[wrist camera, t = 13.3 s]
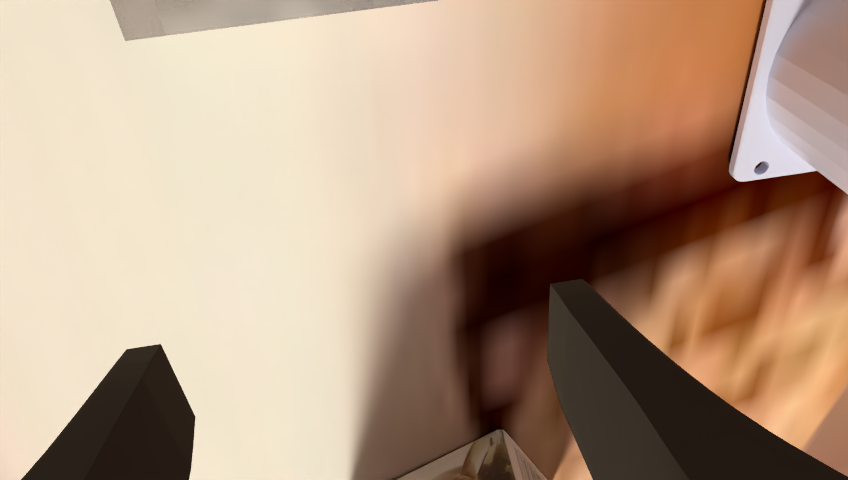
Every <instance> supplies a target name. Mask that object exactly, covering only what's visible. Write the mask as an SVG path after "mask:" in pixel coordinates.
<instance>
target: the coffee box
mask: <svg viewBox="0 0 848 480" xmlns="http://www.w3.org/2000/svg"><path fill="white" fill-rule="evenodd" d="M396 480H547V479H546V477H545V476H544V475H543V474H542V473H541V472H540V471H539V469H538V468H537V467H536V466H535V465H534V464H533V463H532V461H531V460H530V459H529V458H528V457H527V456H526V454H525V453H524V452H523V451H522V450H521V449H520V448H519V446H518V445H517V444H516V443H515V442H514V441H513V440H512V438H511V437H510V436H509V435H508V434H507V433H506V432H505V431H504V430H500V429H498V430H496V431H494V432H491V433H489V434H487V435H486V436H484V437H482V438H480V439H478V440H476V441H474V442H472V443H470V444H468V445H466V446H464V447H462V448H459V449H457V450H455V451H453V452H451V453H449V454H447V455H445V456H443V457H441V458H439V459H437V460H435V461H433V462H431V463H429V464H427V465H425V466H423V467H421V468H419V469H417V470H415V471H413V472H411V473H409V474H407V475H405V476H403V477H401V478H398V479H396Z"/></svg>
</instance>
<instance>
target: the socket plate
mask: <svg viewBox="0 0 848 480" xmlns="http://www.w3.org/2000/svg"><path fill="white" fill-rule="evenodd" d="M110 1H111V4H112V7H113V9H114V12H115V15H116V17H117V20H118V23H119V25H120V28H121V31H122V33H123V36H124V39H125V41H128V40H136V39H143V38H151V37H159V36H166V35H174V34H182V33H190V32H197V31H205V30H213V29H220V28H228V27H236V26H244V25H251V24H259V23H267V22H274V21H282V20H290V19H297V18H305V17H313V16H321V15H328V14H336V13H344V12H351V11H359V10H367V9H375V8H382V7H390V6H398V5H405V4H413V3H421V2H429V1H436V0H110Z"/></svg>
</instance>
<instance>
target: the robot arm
mask: <svg viewBox="0 0 848 480" xmlns="http://www.w3.org/2000/svg"><path fill="white" fill-rule="evenodd" d="M760 162H762V164H761V165H760V166H759V167H758V168H755V167H756V165H757V164H759V163H760ZM812 171H818V172H820V173H821V174H822V175H824V176H825V177H826V178H827V179H829V180H830V181H831V182H833V183H834V184H835V185H836V186H838V187H839V188H840V189H842V190H843V191H844V192H845V193H847V194H848V0H767V1H766V6H765V10H764V15H763V19H762V23H761V28H760V32H759V37H758V41H757V46H756V50H755V54H754V59H753V63H752V68H751V72H750V77H749V81H748V85H747V90H746V94H745V99H744V103H743V108H742V112H741V116H740V121H739V125H738V130H737V134H736V139H735V143H734V148H733V152H732V156H731V161H730V165H729V173H730V174H731V176H732V177H733V178H734V179H736V180H738V181H743V182H744V181H751V180H758V179H765V178H771V177H778V176H785V175H792V174H798V173H805V172H812ZM547 361H548V364H549V368H550V371H551V374H552V378H553V381H554V385H555V388H556V391H557V394H558V397H559V401H560V404H561V407H562V410H563V412H564V414H565V417H566V419H567V421H568V424H569V426H570V428H571V431H572V433H573V435H574V437H575V440H576V442H577V444H578V447H579V449H580V451H581V453H582V456H583V458H584V460H585V462H586V465H587V467H588V469H589V471H590V474H591V476H592V478H593V480H848V477H847V476H845V475H843V474H842V473H840V472H838V471H836V470H834V469H833V468H831V467H829V466H827V465H826V464H824V463H822V462H820V461H819V460H817V459H815V458H813V457H812V456H810V455H808V454H807V453H805V452H803V451H801V450H800V449H798V448H796V447H794V446H793V445H791V444H789V443H788V442H786V441H784V440H783V439H781V438H779V437H778V436H776V435H775V434H773V433H771V432H770V431H768V430H767V429H765V428H764V427H762V426H761V425H759V424H758V423H756V422H755V421H753V420H752V419H750V418H749V417H747V416H746V415H744V414H743V413H741V412H740V411H738V410H737V409H735V408H734V407H732V406H731V405H730V404H728V403H727V402H725V401H724V400H723V399H721V398H720V397H719V396H717V395H716V394H715V393H713V392H712V391H710V390H709V389H708V388H707V387H705V386H704V385H703V384H701V383H700V382H699V381H698V380H696V379H695V378H694V377H692V376H691V375H690V374H688V373H687V372H686V371H685V370H684V369H682V368H681V367H680V366H679V365H677V364H676V363H675V362H674V361H672V360H671V359H670V358H669V357H668V356H667V355H665V354H664V353H663V352H662V351H661V350H660V349H658V348H657V347H656V346H655V345H654V344H653V343H651V342H650V341H649V340H648V339H647V338H646V337H644V336H643V335H642V334H641V333H640V332H639V331H638V330H637V329H636V328H634V327H633V326H632V325H631V324H630V323H629V322H628V321H627V320H626V319H625V318H624V317H622V316H621V315H620V314H619V313H618V312H617V311H616V310H615V309H614V308H613V307H612V306H611V305H610V304H609V303H608V302H607V301H605V300H604V299H603V298H602V297H601V296H600V295H599V294H598V293H597V292H596V291H595V290H594V289H593V288H592V287H591V286H590V285H589V284H588V283H587V282H585V281H584V280H583V279H578V280H572V281H565V282H559V283H553V284H550V301H549V327H548V353H547ZM194 426H195V415H194V413H193V411H192V409H191V407H190V405H189V403H188V401H187V399H186V396H185V394H184V392H183V390H182V388H181V386H180V384H179V382H178V380H177V377H176V375H175V373H174V371H173V369H172V367H171V365H170V363H169V361H168V359H167V356H166V354H165V352H164V350H163V348H162V346H161V344H159V345H152V346H146V347H139V348H133V349H127V350H126V351H125V352H124V353H123V355H122V356H121V357H120V358H119V360H118V361H117V362H116V363H115V365H114V366H113V367H112V369H111V370H110V371H109V372H108V374H107V375H106V376H105V377H104V379H103V380H102V381H101V383H100V384H99V385H98V386H97V388H96V389H95V390H94V392H93V393H92V394H91V395H90V397H89V398H88V399H87V401H86V402H85V403H84V404H83V406H82V407H81V408H80V410H79V411H78V412H77V413H76V415H75V416H74V417H73V418H72V420H71V421H70V422H69V423H68V425H67V426H66V427H65V428H64V430H63V431H62V432H61V433H60V435H59V436H58V437H57V438H56V439H55V441H54V442H53V443H52V444H51V446H50V447H49V448H48V449H47V451H46V452H45V453H44V454H43V455H42V456H41V458H40V459H39V460H38V461H37V462H36V463H35V464H34V466H33V467H32V468H31V469H30V470H29V471H28V473H27V474H26V475H25V476H24V477H23V478H22V479H21V480H189V476H190V471H191V462H192V452H193V440H194Z"/></svg>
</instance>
